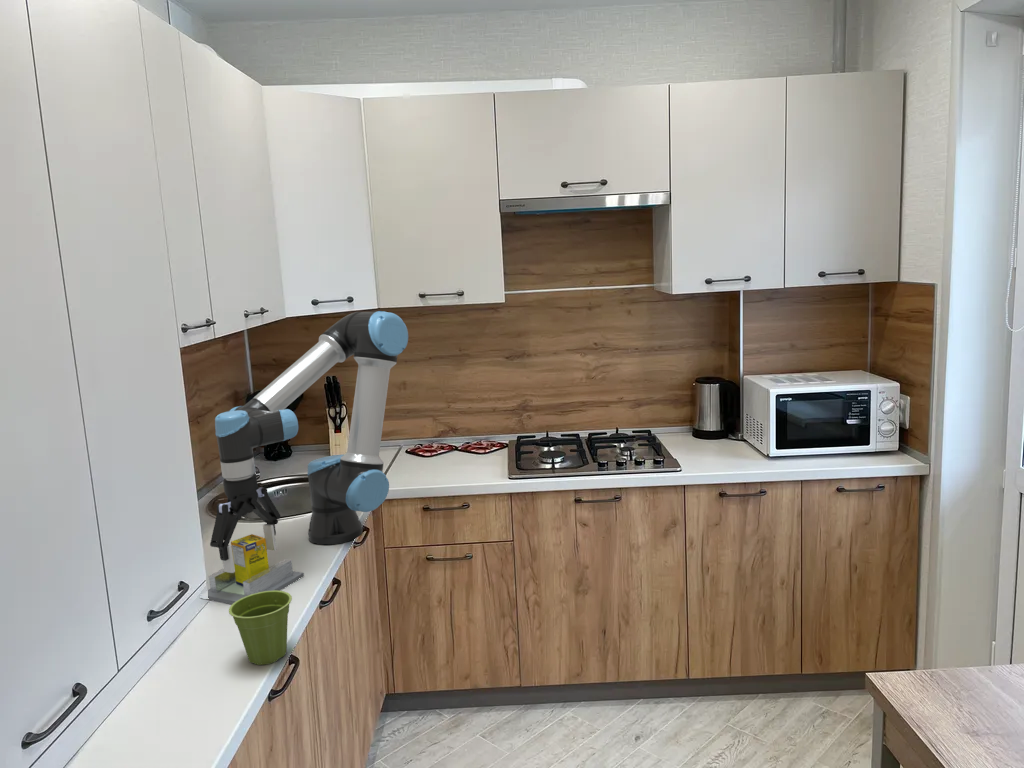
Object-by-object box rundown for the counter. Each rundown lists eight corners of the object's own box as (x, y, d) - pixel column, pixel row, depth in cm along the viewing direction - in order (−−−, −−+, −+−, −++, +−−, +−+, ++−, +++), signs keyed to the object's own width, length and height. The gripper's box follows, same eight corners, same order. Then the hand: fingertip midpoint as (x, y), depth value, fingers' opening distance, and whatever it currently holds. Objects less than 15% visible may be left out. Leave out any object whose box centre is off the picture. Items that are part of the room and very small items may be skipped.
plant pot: (285, 635, 156) (279, 584, 154) (307, 656, 146) (300, 603, 144) (227, 655, 149) (220, 602, 147) (246, 679, 139) (239, 623, 137)
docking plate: (256, 568, 192) (253, 550, 191) (303, 576, 185) (301, 557, 184) (200, 598, 176) (197, 578, 176) (250, 608, 169) (247, 587, 169)
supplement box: (271, 580, 181) (266, 537, 180) (249, 589, 177) (244, 545, 175) (257, 575, 185) (252, 533, 183) (235, 584, 180) (230, 541, 179)
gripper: (265, 460, 189) (276, 539, 193) (185, 491, 167) (198, 579, 171) (288, 462, 186) (298, 542, 189) (209, 493, 164) (222, 584, 167)
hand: (251, 560), depth 180 cm, fingers open, 13 cm apart
